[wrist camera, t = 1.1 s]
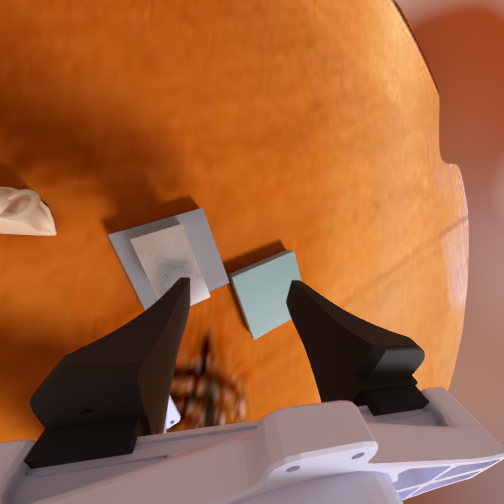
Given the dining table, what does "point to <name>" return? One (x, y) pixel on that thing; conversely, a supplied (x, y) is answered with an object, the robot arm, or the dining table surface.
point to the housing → (170, 261)
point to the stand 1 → (200, 245)
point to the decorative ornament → (24, 213)
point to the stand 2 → (265, 291)
